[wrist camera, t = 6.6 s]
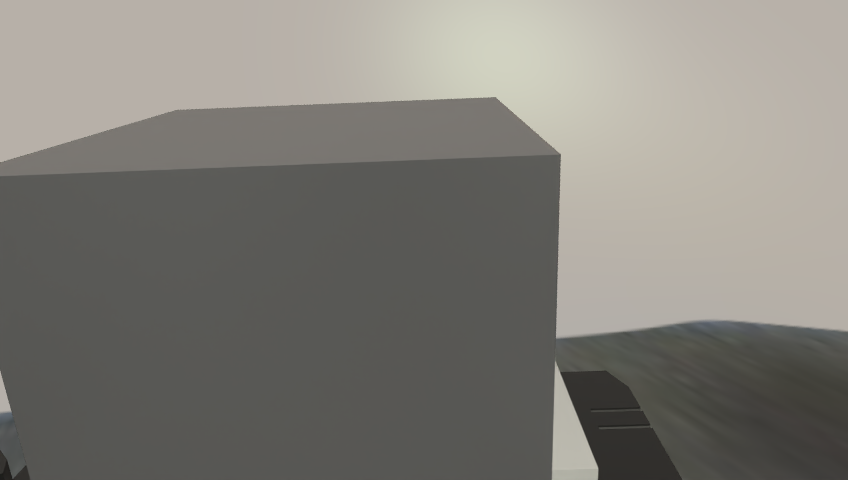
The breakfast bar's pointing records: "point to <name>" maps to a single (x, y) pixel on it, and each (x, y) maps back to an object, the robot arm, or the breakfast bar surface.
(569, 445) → the robot arm
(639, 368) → the breakfast bar surface
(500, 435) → the block
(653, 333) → the breakfast bar surface
